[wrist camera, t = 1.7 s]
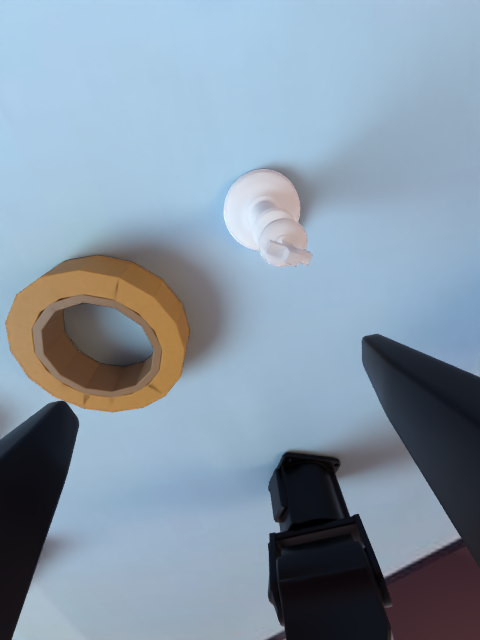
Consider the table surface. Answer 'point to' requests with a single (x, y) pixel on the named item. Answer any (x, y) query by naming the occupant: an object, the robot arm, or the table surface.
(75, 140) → the table surface
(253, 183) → the chess piece
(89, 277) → the tape roll
